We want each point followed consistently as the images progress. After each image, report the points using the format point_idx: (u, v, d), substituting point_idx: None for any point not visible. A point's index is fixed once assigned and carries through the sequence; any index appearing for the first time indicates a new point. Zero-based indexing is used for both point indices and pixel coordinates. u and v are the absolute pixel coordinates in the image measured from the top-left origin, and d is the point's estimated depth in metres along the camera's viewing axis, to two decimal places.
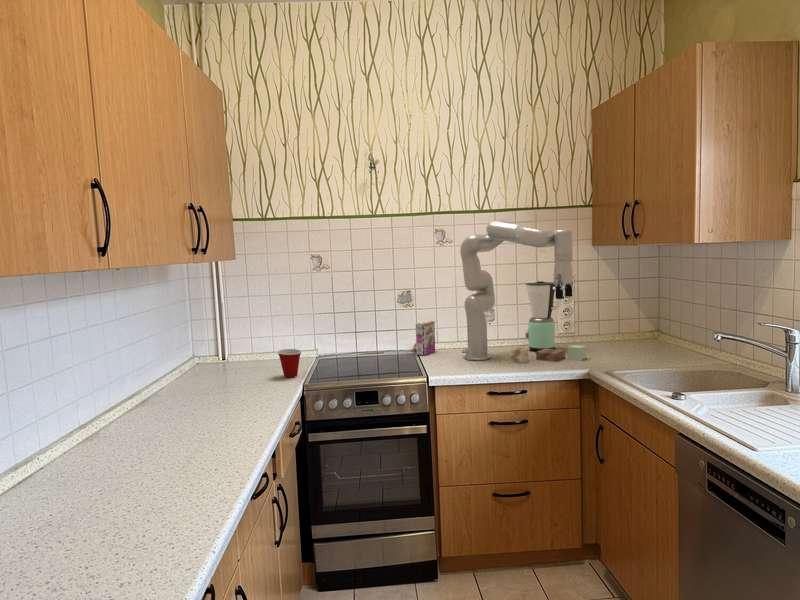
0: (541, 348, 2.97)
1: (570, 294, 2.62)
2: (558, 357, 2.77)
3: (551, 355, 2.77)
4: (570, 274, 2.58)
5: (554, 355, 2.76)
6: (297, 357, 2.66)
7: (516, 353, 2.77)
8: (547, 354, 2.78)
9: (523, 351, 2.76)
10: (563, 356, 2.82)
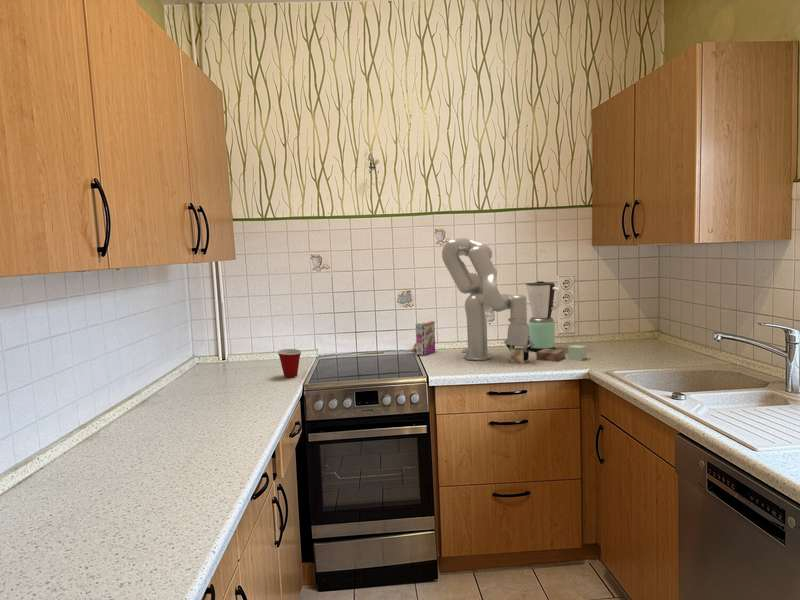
0: (541, 348, 2.97)
1: None
2: (559, 357, 2.78)
3: (552, 355, 2.77)
4: None
5: (555, 355, 2.76)
6: (297, 357, 2.66)
7: (516, 353, 2.77)
8: (547, 354, 2.78)
9: (523, 351, 2.76)
10: (563, 356, 2.82)
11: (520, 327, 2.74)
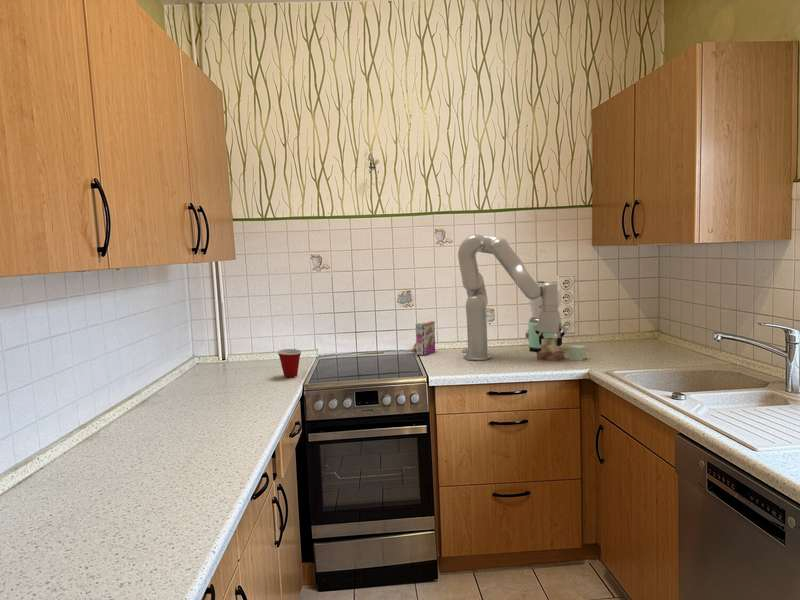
0: (541, 348, 2.97)
1: None
2: (559, 357, 2.78)
3: (552, 355, 2.77)
4: None
5: (556, 355, 2.76)
6: (297, 357, 2.66)
7: (547, 343, 2.79)
8: (548, 354, 2.78)
9: (554, 341, 2.78)
10: (563, 356, 2.82)
11: (551, 314, 2.77)
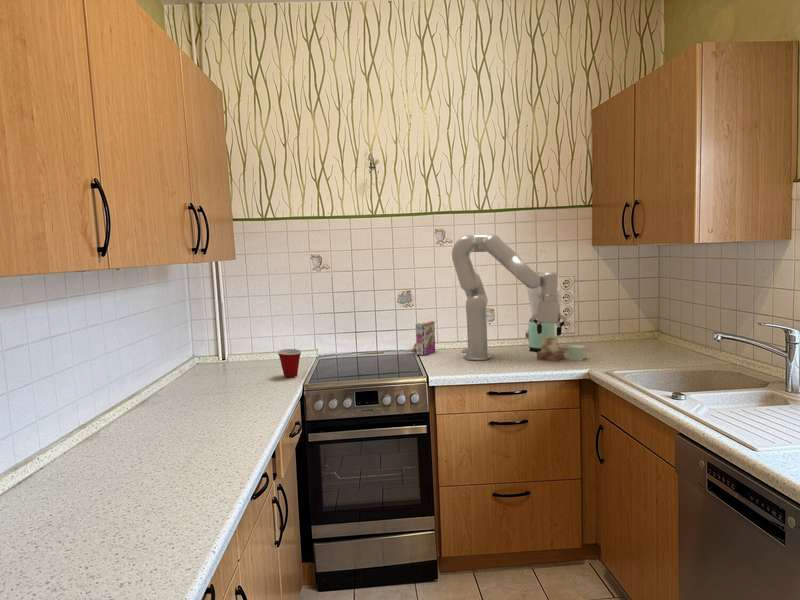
0: (541, 348, 2.97)
1: (541, 331, 2.85)
2: (559, 357, 2.78)
3: (553, 355, 2.77)
4: None
5: (556, 355, 2.76)
6: (297, 357, 2.66)
7: (547, 343, 2.79)
8: (548, 354, 2.78)
9: (554, 341, 2.79)
10: (563, 356, 2.82)
11: (551, 304, 2.76)
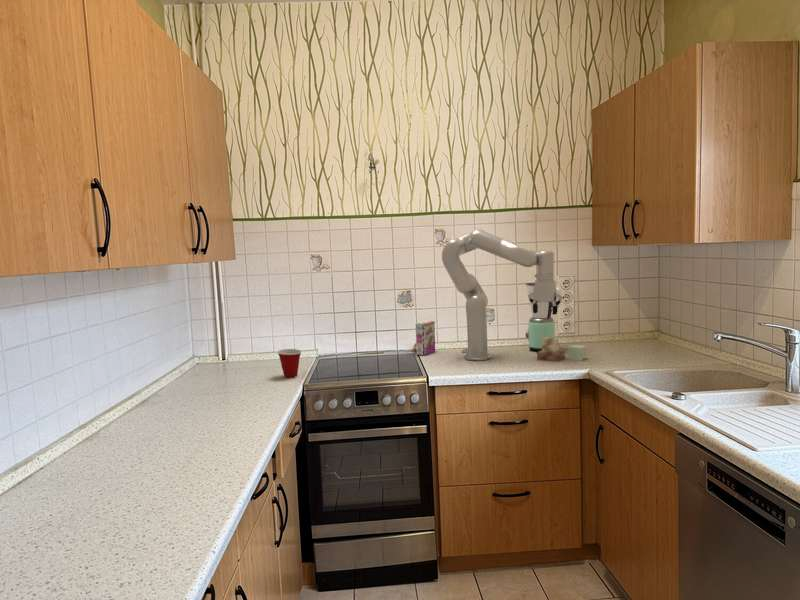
0: (541, 348, 2.97)
1: (537, 310, 2.84)
2: (559, 357, 2.78)
3: (553, 355, 2.76)
4: None
5: (556, 355, 2.76)
6: (297, 357, 2.66)
7: (547, 343, 2.79)
8: (549, 354, 2.78)
9: (555, 340, 2.79)
10: (563, 356, 2.82)
11: (547, 282, 2.75)
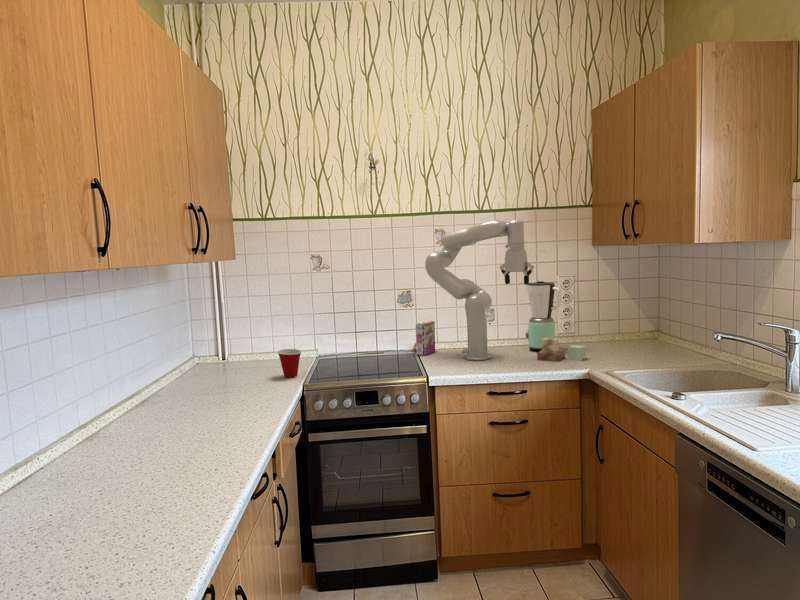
0: (541, 348, 2.97)
1: (509, 281, 2.81)
2: (560, 357, 2.78)
3: (553, 355, 2.76)
4: None
5: (556, 355, 2.75)
6: (297, 357, 2.66)
7: (548, 343, 2.79)
8: (549, 354, 2.77)
9: (555, 341, 2.78)
10: (563, 356, 2.82)
11: (517, 252, 2.72)
